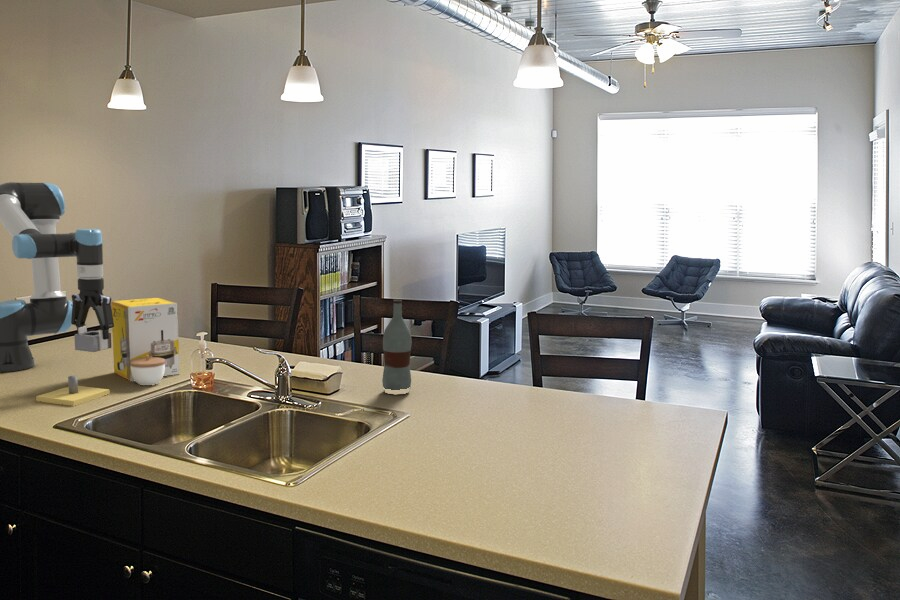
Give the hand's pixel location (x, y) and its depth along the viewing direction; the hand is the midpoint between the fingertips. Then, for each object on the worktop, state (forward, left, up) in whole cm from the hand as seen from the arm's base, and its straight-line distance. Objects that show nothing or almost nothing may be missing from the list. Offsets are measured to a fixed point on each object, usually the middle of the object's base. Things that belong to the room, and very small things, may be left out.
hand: (93, 347), depth 239 cm
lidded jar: (+15, +7, -12) cm, 21 cm away
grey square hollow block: (0, 0, 0) cm, 0 cm away
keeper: (+6, -15, -12) cm, 20 cm away
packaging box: (+5, +18, -12) cm, 22 cm away
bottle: (+94, +28, -12) cm, 99 cm away
